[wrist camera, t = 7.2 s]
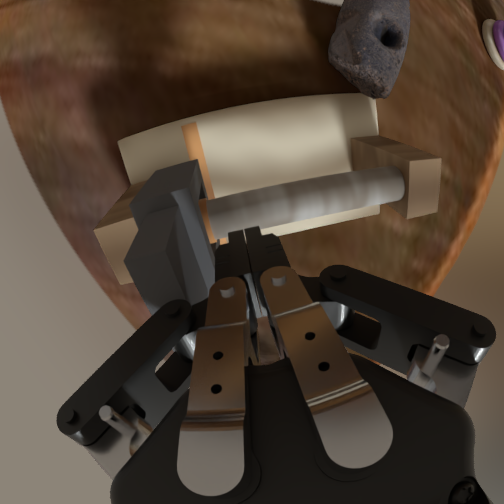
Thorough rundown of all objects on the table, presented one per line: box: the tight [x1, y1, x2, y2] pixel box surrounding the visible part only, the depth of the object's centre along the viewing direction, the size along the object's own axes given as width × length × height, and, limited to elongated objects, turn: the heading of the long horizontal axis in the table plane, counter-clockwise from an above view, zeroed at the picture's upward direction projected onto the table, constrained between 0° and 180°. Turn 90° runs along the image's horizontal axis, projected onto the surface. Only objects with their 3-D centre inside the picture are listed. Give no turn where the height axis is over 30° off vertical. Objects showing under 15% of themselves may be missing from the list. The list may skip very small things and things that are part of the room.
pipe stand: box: [94, 93, 441, 285], centre depth 19 cm, size 12×22×10 cm, turn 101°
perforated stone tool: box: [328, 0, 410, 100], centre depth 13 cm, size 15×5×7 cm, turn 163°
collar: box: [123, 159, 220, 352], centre depth 14 cm, size 6×3×10 cm, turn 11°
